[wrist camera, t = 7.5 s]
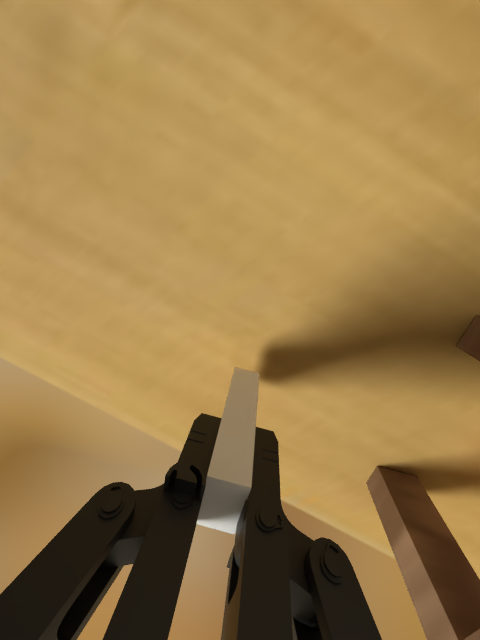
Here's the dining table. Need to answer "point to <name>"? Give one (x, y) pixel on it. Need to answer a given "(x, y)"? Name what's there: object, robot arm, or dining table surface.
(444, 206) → the dining table surface
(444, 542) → the bridge
